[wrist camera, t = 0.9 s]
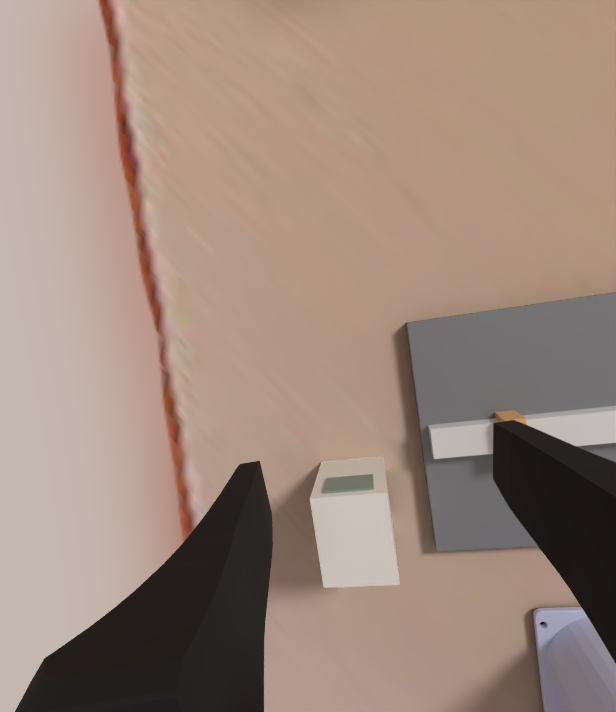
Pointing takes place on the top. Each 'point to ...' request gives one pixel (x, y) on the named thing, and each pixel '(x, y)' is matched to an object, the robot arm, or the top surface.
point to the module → (354, 523)
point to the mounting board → (507, 403)
